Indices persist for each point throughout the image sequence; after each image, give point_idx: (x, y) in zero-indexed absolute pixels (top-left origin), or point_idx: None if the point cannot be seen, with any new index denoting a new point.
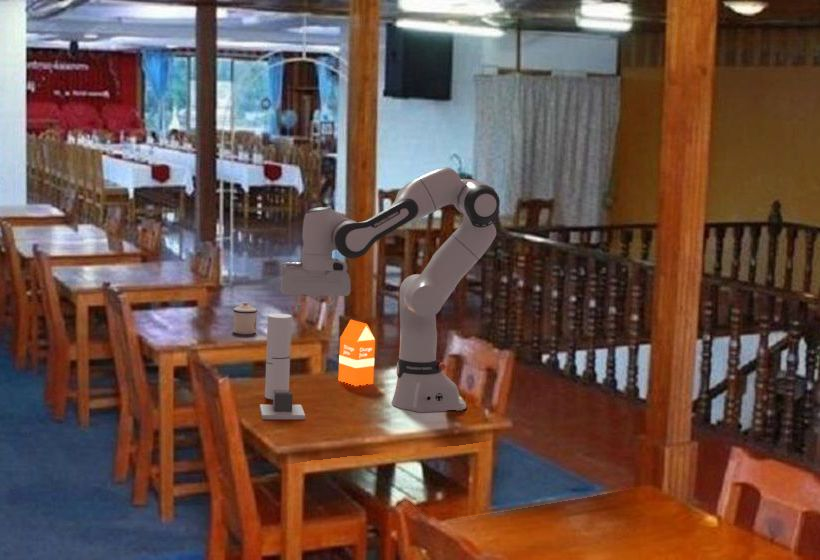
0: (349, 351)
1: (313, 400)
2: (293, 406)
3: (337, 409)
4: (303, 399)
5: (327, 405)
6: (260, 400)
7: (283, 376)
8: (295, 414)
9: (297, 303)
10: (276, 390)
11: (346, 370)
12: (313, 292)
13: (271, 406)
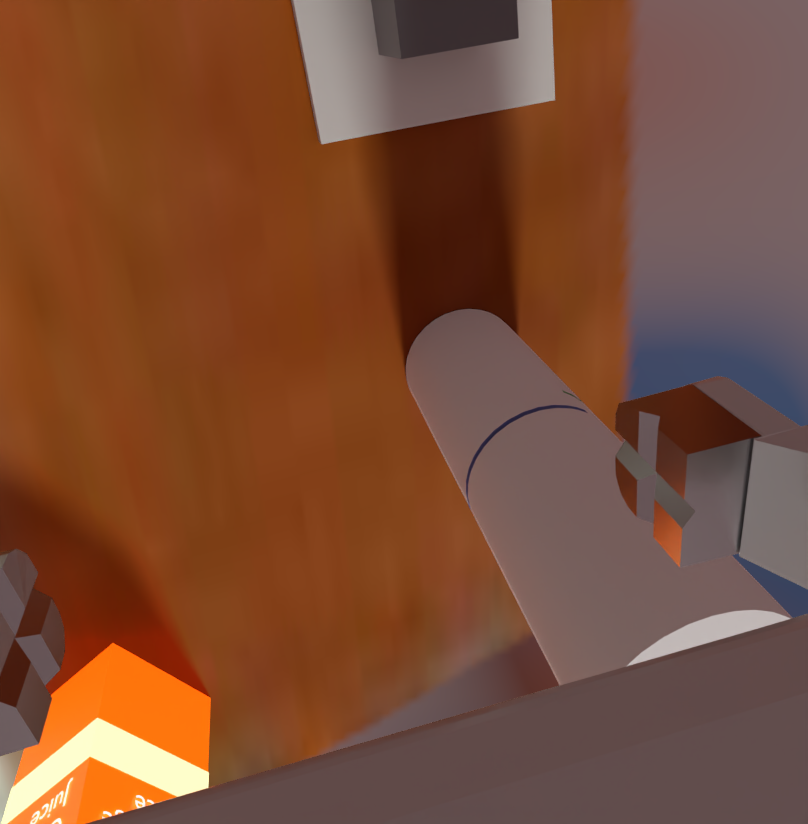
0: None
1: (272, 342)
2: (362, 86)
3: (95, 167)
4: (327, 349)
5: (176, 252)
6: (539, 278)
7: (467, 371)
8: None
9: (797, 436)
10: (499, 39)
11: (162, 725)
12: (547, 786)
13: (490, 60)
